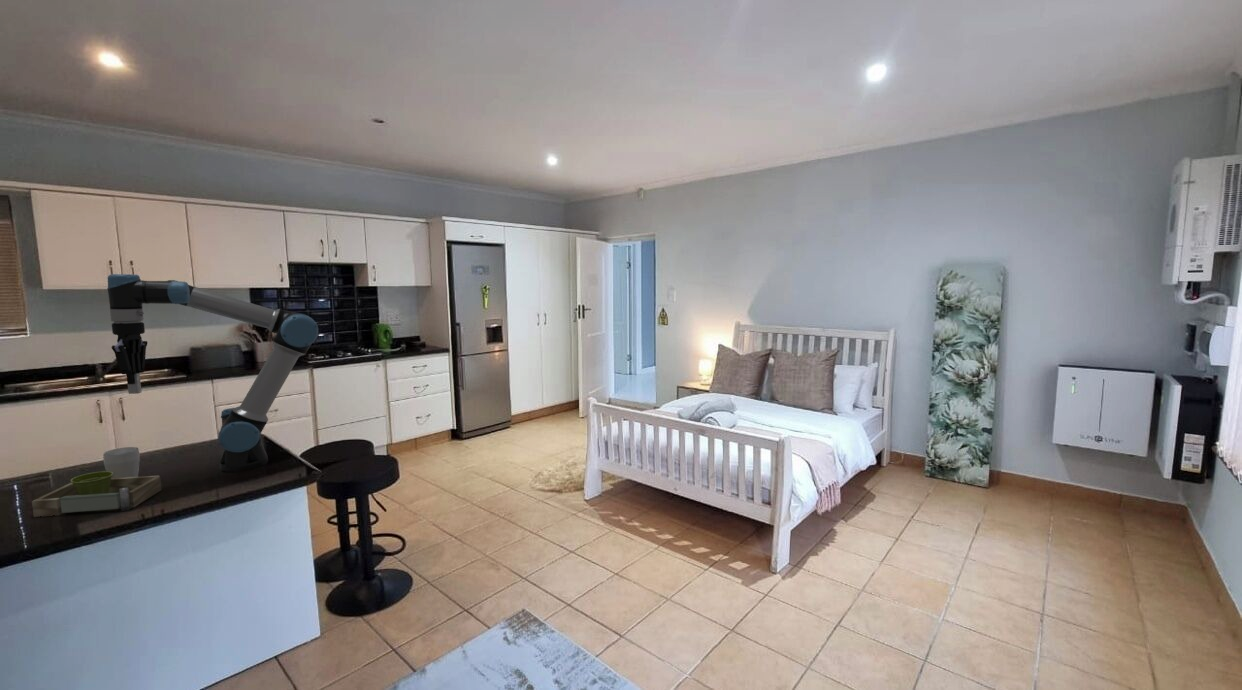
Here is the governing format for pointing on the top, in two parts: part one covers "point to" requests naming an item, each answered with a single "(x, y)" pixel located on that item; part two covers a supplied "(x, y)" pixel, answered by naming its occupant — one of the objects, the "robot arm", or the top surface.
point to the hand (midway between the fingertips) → (135, 393)
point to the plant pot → (92, 483)
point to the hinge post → (124, 498)
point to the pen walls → (137, 489)
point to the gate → (90, 502)
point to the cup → (122, 462)
